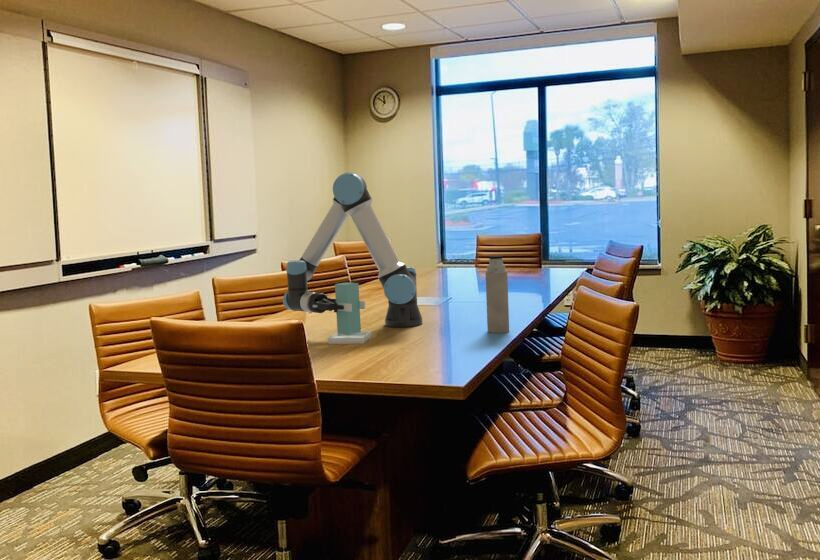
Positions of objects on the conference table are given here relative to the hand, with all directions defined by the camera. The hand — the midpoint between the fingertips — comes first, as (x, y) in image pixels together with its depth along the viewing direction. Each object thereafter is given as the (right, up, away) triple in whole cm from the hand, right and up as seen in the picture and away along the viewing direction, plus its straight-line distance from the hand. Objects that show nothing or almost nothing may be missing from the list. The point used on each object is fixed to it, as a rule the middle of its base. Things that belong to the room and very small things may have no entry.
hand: (357, 306), depth 266 cm
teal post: (-3, -10, +4) cm, 11 cm away
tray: (-3, -13, +5) cm, 14 cm away
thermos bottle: (+51, -10, +9) cm, 53 cm away
